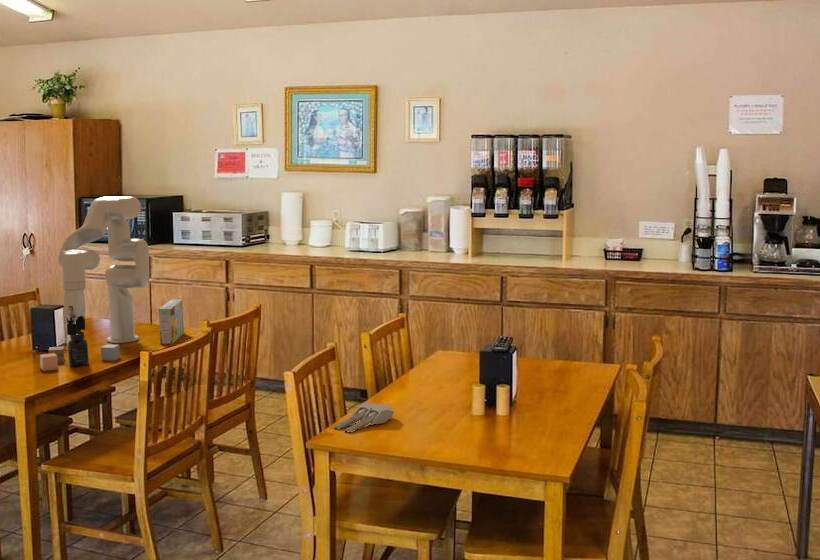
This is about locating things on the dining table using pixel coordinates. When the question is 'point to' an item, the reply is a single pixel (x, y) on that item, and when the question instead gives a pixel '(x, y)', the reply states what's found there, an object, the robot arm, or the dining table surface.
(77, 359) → the supplement bottle
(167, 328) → the snack box
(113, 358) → the slate block
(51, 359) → the terracotta block
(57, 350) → the walnut block
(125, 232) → the robot arm
